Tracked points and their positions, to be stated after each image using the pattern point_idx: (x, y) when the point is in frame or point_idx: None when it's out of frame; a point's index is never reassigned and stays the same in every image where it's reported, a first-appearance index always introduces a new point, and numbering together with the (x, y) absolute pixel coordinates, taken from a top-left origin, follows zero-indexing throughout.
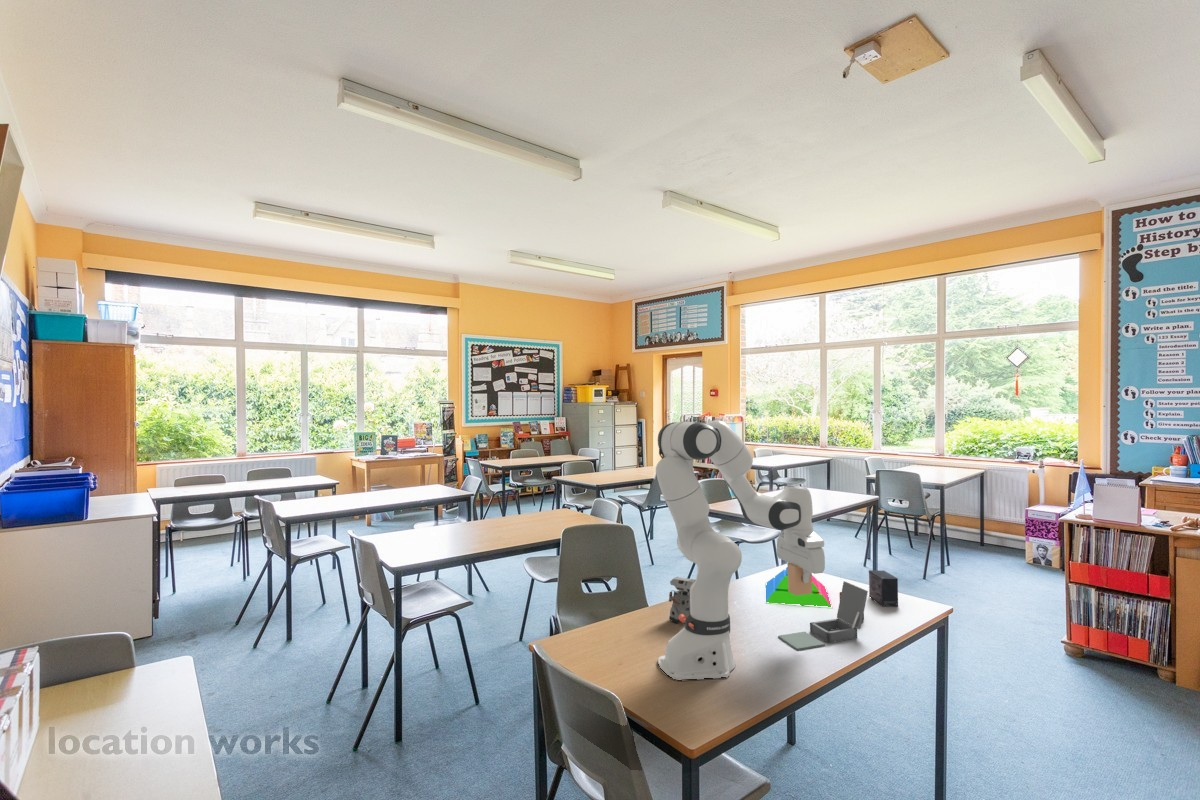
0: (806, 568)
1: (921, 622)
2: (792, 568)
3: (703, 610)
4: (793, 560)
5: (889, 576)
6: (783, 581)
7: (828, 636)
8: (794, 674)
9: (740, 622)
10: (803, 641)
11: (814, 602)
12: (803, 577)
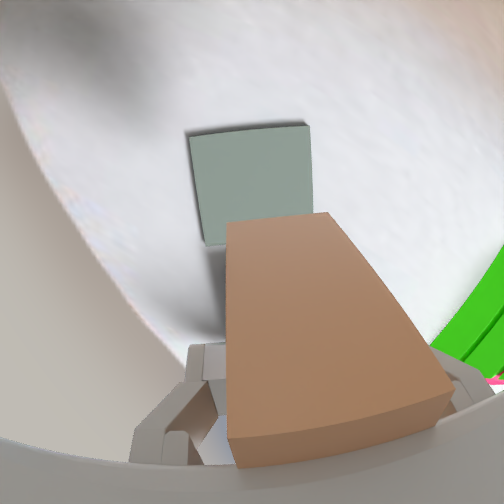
0: (45, 471)
1: None
2: (306, 387)
3: None
4: (381, 501)
5: None
6: None
7: (225, 276)
8: (49, 64)
9: (446, 81)
10: (239, 188)
11: (443, 345)
12: (193, 379)
